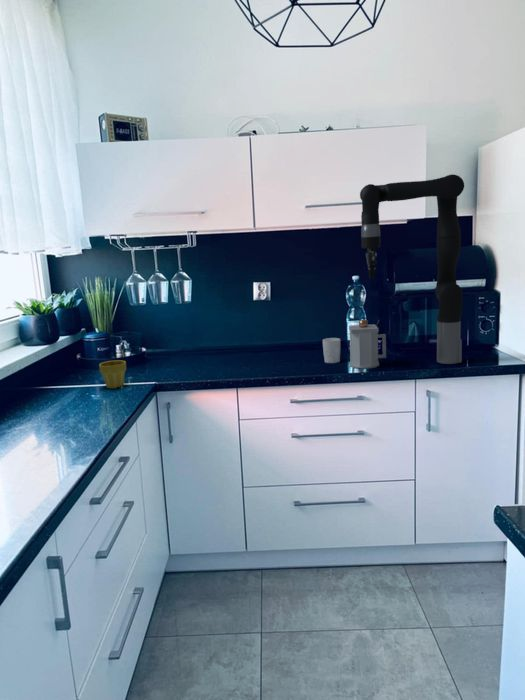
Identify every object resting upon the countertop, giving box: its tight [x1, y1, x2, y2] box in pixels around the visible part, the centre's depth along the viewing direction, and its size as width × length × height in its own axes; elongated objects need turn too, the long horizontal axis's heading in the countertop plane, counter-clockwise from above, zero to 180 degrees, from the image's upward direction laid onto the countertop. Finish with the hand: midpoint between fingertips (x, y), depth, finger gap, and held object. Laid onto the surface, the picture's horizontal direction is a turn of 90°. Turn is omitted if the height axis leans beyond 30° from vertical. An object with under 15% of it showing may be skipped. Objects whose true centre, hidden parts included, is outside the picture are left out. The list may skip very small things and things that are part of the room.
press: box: [348, 324, 387, 370], centre depth 230 cm, size 15×12×16 cm
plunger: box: [358, 319, 369, 328], centre depth 230 cm, size 9×9×16 cm
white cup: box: [322, 337, 341, 364], centre depth 242 cm, size 8×8×10 cm
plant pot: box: [98, 359, 127, 389], centre depth 221 cm, size 10×10×10 cm
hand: (372, 278), depth 225 cm, fingers closed
